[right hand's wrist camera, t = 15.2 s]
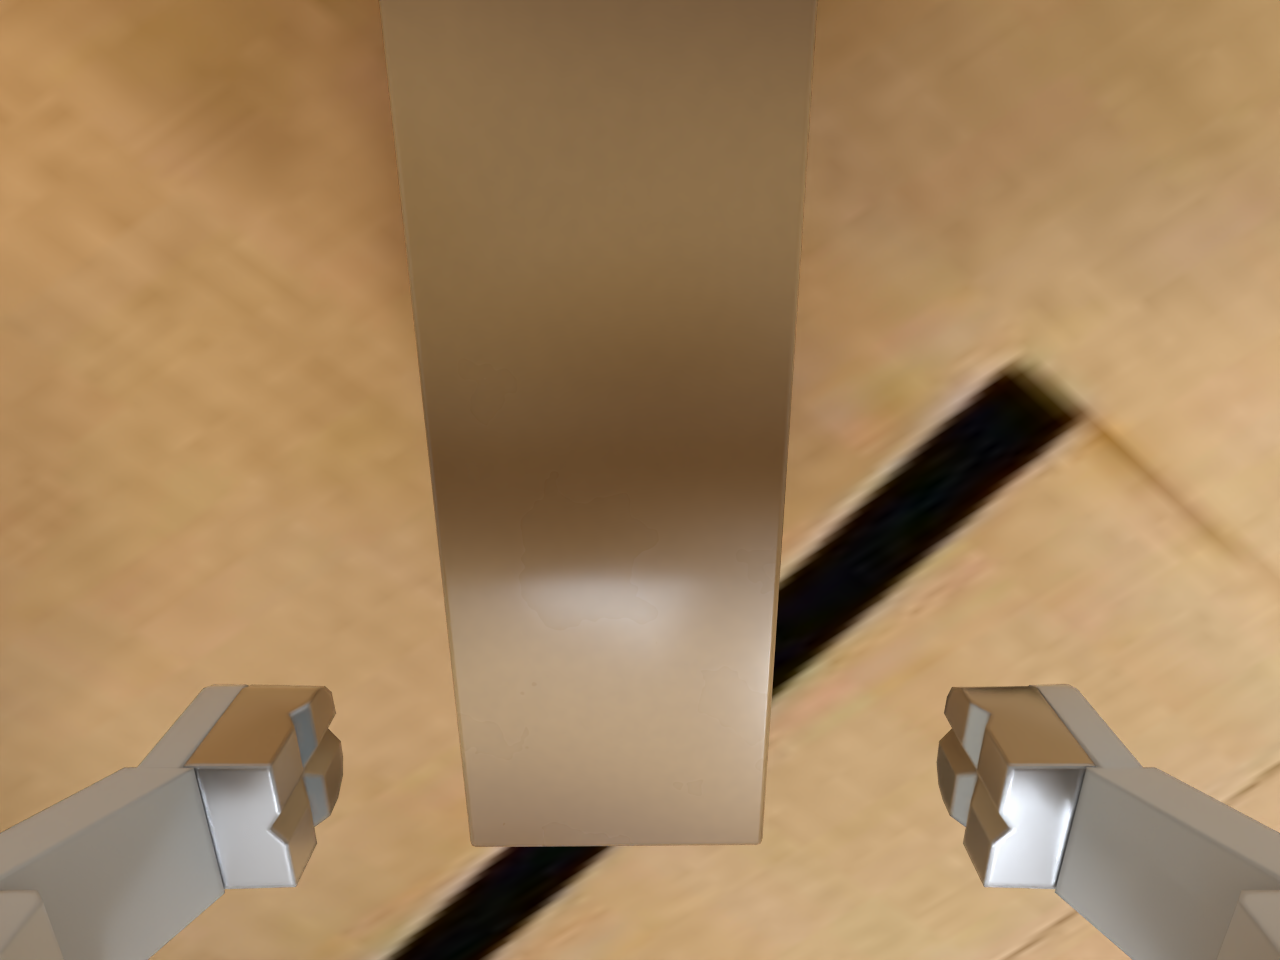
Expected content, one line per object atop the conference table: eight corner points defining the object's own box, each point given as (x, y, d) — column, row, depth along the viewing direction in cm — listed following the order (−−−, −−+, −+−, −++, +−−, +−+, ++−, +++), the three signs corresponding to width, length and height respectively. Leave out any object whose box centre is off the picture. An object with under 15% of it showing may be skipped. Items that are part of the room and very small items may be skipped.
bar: (714, 581, 21) (762, 847, 13) (533, 583, 21) (469, 849, 13) (758, -811, 12) (1001, -2731, 4) (448, -810, 12) (76, -2732, 4)
